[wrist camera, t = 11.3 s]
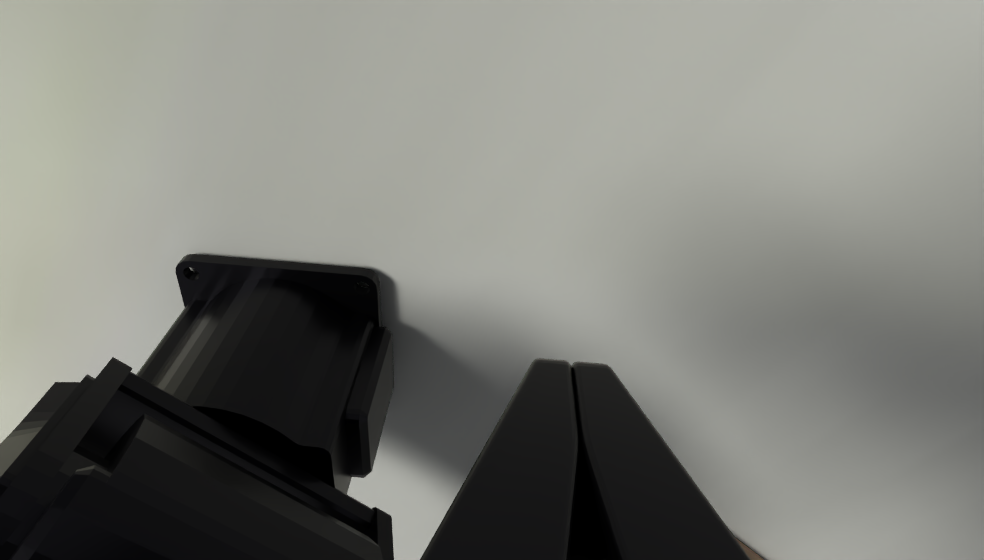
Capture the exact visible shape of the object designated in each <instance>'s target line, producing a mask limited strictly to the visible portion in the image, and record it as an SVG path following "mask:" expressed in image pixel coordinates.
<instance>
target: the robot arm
mask: <svg viewBox="0 0 984 560" xmlns="http://www.w3.org/2000/svg"><path fill="white" fill-rule="evenodd" d="M189 267H191V268H194V269H195V270H197V271H198V273H199V274H198V273H194V272H193V271H191V270H190V268H189ZM176 275H177V279H178V283H179V287H180V291H181V294H182V298H183V302H184V306H185V309H184V310H183V311H182V313H181V314H180V316H179V317H178V318H177V320H176V321H175V322H174V324H173V325H172V327H171V328H170V329H169V331H168V332H167V333H166V335H165V336H164V338H163V339H162V340H161V342H160V343H159V344H158V346H157V347H156V349H155V350H154V351H153V353H152V354H151V355H150V357H149V358H148V360H147V361H146V362H145V364H144V365H143V366H142V368H141V369H140V371H139V372H138V373H137V375H135V374H134V373H132V372H130V371H131V370H132V368H131V367H129V366H128V365H126V364H124V363H122V362H121V361H119V360H117V359H115V358H114V357H113V358H112V359H111V360H110V361H109V363H108V364H107V365H106V366H105V367H104V369H103V370H102V371H101V372H100V374H99V375H98V376H97V377H96V379H95V378H93V377H91V376H89V375H86V376H85V377H84V379H83V380H82V381H81V382H55V383H54V385H53V386H52V387H51V388H50V389H49V390H48V392H47V393H46V394H45V395H44V396H43V397H42V398H41V400H40V401H39V402H38V403H37V404H36V405H35V407H34V408H33V409H32V410H31V411H30V412H29V414H28V415H27V416H26V417H25V418H24V419H23V420H22V422H21V423H20V424H19V425H18V426H17V427H16V428H15V429H14V430H13V432H12V433H11V434H10V435H9V436H8V437H7V438H6V439H5V440H4V441H3V442H2V443H1V444H0V560H394V554H393V536H392V518H391V516H390V515H389V514H387V513H385V512H383V511H382V510H380V509H378V508H376V507H374V508H372V509H371V508H369V507H368V506H366V505H364V504H362V503H361V502H359V501H357V500H355V499H354V498H352V497H350V496H348V495H347V491H348V488H349V484H350V481H351V477H361V478H364V477H365V476H367V475H368V474H369V473H370V472H371V471H372V468H373V464H374V460H375V457H376V453H377V449H378V445H379V441H380V437H381V433H382V430H383V426H384V422H385V418H386V414H387V410H388V406H389V403H390V399H391V395H392V391H393V387H394V371H393V342H392V333H391V332H390V331H389V329H388V328H387V327H382V320H381V298H380V281H379V278H378V276H377V275H376V274H375V273H374V272H372V271H371V270H369V269H365V268H354V267H342V266H330V265H318V264H306V263H294V262H282V261H270V260H258V259H246V258H234V257H222V256H210V255H198V254H190V255H186V256H185V257H183V258H182V260H181V261H180V262H179V263H178V265H177V267H176ZM357 282H364V283H366V284H367V285H369V287H361V286H360V285H359V284H358V283H357ZM420 560H751V559H750V558H749V556H748V555H747V554H746V552H745V551H744V550H743V548H742V547H741V545H740V544H739V543H738V541H737V540H736V539H735V537H734V536H733V534H732V533H731V532H730V530H729V529H728V528H727V526H726V525H725V523H724V522H723V521H722V519H721V518H720V517H719V515H718V514H717V513H716V511H715V510H714V508H713V507H712V506H711V504H710V503H709V502H708V500H707V499H706V497H705V496H704V495H703V493H702V492H701V491H700V489H699V488H698V486H697V485H696V484H695V482H694V481H693V480H692V478H691V477H690V476H689V474H688V473H687V471H686V470H685V469H684V467H683V466H682V465H681V463H680V462H679V460H678V459H677V458H676V456H675V455H674V454H673V452H672V451H671V449H670V448H669V447H668V445H667V444H666V443H665V441H664V440H663V438H662V437H661V436H660V434H659V433H658V432H657V430H656V429H655V428H654V426H653V425H652V423H651V422H650V421H649V419H648V418H647V417H646V415H645V414H644V412H643V411H642V410H641V408H640V407H639V406H638V404H637V403H636V401H635V400H634V399H633V397H632V396H631V395H630V393H629V392H628V391H627V389H626V388H625V386H624V385H623V384H622V382H621V381H620V380H619V378H618V377H617V375H616V374H615V373H614V371H613V370H612V369H611V368H610V367H609V366H608V365H605V364H599V363H587V362H575V363H573V365H572V366H571V365H570V364H569V362H567V361H564V360H553V359H541V358H539V359H536V360H534V361H533V362H532V364H531V365H530V367H529V369H528V371H527V372H526V374H525V376H524V378H523V380H522V381H521V383H520V385H519V387H518V388H517V390H516V392H515V394H514V395H513V397H512V399H511V401H510V402H509V404H508V406H507V408H506V409H505V411H504V413H503V415H502V416H501V418H500V420H499V422H498V424H497V425H496V427H495V429H494V431H493V432H492V434H491V436H490V438H489V439H488V441H487V443H486V445H485V446H484V448H483V450H482V452H481V453H480V455H479V457H478V459H477V460H476V462H475V464H474V466H473V467H472V469H471V471H470V473H469V475H468V476H467V478H466V480H465V482H464V483H463V485H462V487H461V489H460V490H459V492H458V494H457V496H456V497H455V499H454V501H453V503H452V504H451V506H450V508H449V510H448V511H447V513H446V515H445V517H444V519H443V520H442V522H441V524H440V526H439V527H438V529H437V531H436V533H435V534H434V536H433V538H432V540H431V541H430V543H429V545H428V547H427V548H426V550H425V552H424V554H423V555H422V557H421V559H420Z"/></svg>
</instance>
